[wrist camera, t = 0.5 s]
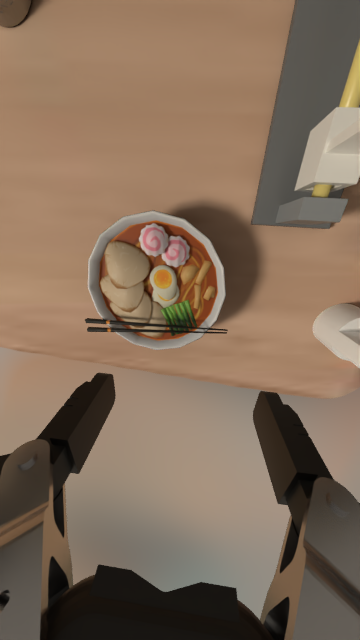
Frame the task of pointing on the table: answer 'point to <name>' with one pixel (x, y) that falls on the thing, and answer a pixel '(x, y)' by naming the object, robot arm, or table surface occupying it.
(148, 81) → the table surface
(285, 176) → the cable comb fixture
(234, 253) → the table surface
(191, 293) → the ramen bowl
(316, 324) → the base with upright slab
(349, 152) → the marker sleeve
